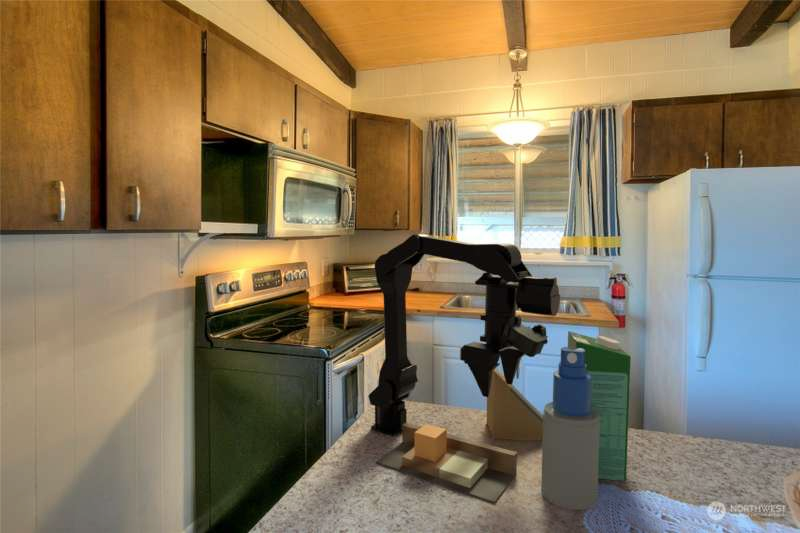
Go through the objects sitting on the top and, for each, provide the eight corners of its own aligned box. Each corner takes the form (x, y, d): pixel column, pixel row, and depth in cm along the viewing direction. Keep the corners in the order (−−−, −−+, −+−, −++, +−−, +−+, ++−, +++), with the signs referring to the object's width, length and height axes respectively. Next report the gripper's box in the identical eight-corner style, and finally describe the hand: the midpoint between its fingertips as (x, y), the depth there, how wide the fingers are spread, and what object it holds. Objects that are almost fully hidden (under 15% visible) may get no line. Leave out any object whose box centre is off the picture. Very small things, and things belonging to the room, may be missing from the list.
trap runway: (375, 463, 85) (375, 442, 85) (405, 440, 94) (406, 422, 94) (494, 503, 72) (495, 480, 72) (516, 473, 81) (516, 452, 81)
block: (414, 455, 84) (414, 432, 84) (426, 445, 88) (426, 423, 88) (435, 461, 82) (435, 438, 81) (446, 451, 85) (446, 429, 85)
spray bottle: (595, 516, 69) (600, 358, 67) (536, 500, 73) (539, 351, 72) (599, 487, 77) (603, 345, 75) (546, 474, 81) (549, 340, 79)
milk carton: (626, 481, 79) (631, 343, 77) (572, 476, 81) (576, 340, 79) (612, 456, 88) (617, 332, 86) (564, 452, 89) (567, 330, 88)
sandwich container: (565, 440, 95) (566, 372, 94) (493, 440, 95) (494, 371, 94) (551, 423, 104) (553, 360, 102) (486, 423, 104) (487, 360, 103)
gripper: (517, 323, 72) (513, 416, 73) (561, 309, 86) (558, 387, 87) (459, 314, 79) (457, 399, 80) (508, 302, 93) (506, 375, 94)
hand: (497, 390), depth 85 cm, fingers open, 9 cm apart
